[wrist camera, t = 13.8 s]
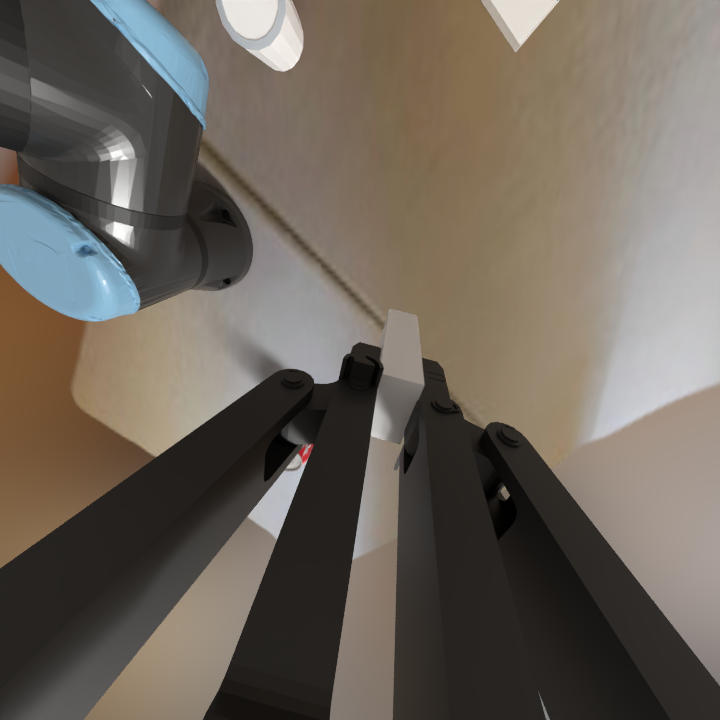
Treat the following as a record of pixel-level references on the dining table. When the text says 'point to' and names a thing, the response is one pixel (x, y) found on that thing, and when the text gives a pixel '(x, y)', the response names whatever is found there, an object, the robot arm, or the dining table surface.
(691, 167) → the dining table surface
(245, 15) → the white cup
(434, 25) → the dining table surface
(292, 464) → the soda can
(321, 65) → the dining table surface
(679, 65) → the dining table surface
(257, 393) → the robot arm
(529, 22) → the fader base
